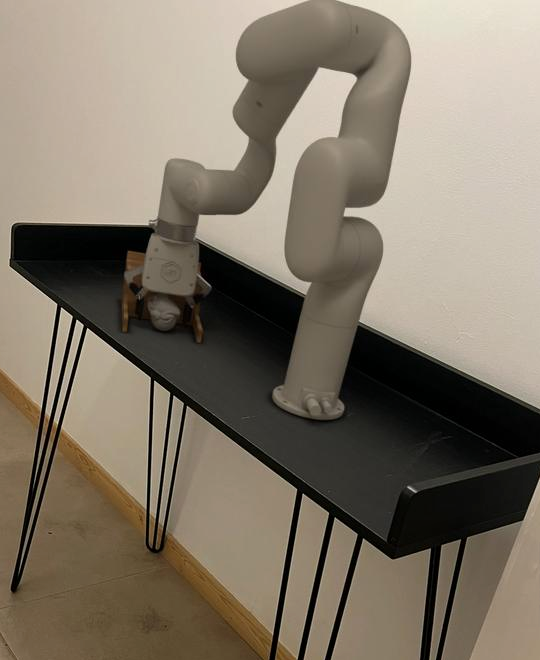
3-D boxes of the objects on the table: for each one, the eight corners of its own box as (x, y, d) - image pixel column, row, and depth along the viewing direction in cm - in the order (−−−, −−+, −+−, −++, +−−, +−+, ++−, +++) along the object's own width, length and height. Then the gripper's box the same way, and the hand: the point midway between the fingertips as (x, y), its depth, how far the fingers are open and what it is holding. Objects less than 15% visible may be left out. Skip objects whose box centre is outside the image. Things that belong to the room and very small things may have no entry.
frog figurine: (153, 321, 169) (158, 287, 166) (183, 332, 167) (189, 297, 164) (137, 327, 164) (142, 292, 161) (168, 338, 162) (174, 302, 159)
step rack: (200, 343, 163) (210, 289, 158) (122, 331, 160) (129, 277, 155) (192, 311, 180) (200, 262, 175) (121, 300, 177) (127, 250, 172)
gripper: (129, 227, 151) (117, 320, 160) (224, 243, 155) (207, 334, 163) (129, 218, 158) (117, 308, 166) (219, 234, 161) (203, 322, 170)
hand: (161, 321), depth 165 cm, fingers open, 8 cm apart
